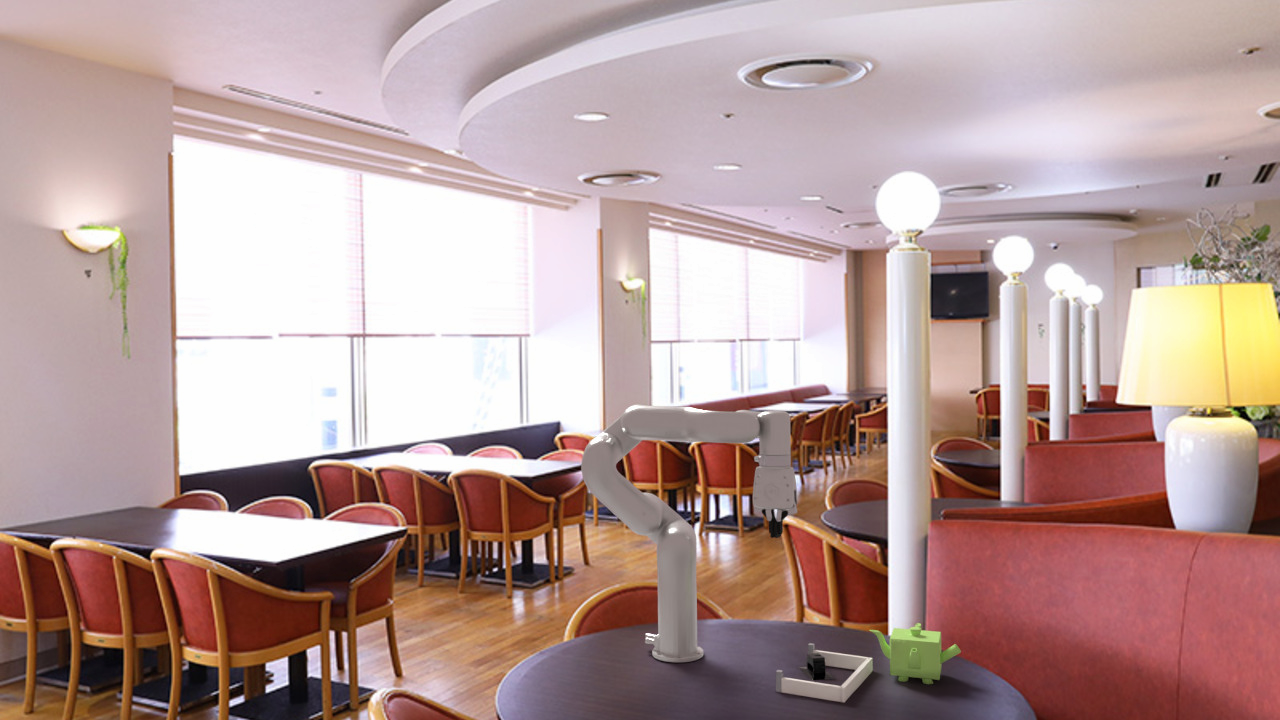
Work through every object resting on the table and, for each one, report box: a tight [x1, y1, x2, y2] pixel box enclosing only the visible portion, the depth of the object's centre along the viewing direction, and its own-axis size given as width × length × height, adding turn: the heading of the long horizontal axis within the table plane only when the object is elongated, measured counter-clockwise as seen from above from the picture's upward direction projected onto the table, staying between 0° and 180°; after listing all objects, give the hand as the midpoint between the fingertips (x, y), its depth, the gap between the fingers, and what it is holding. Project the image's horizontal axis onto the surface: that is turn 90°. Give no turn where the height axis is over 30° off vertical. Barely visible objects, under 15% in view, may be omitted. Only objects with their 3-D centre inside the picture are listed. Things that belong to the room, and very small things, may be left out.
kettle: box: [869, 622, 962, 685], centre depth 216 cm, size 15×14×11 cm
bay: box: [775, 643, 874, 703], centre depth 215 cm, size 15×23×4 cm, turn 152°
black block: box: [797, 653, 836, 681], centre depth 220 cm, size 12×7×5 cm, turn 11°
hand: (775, 536), depth 233 cm, fingers closed
